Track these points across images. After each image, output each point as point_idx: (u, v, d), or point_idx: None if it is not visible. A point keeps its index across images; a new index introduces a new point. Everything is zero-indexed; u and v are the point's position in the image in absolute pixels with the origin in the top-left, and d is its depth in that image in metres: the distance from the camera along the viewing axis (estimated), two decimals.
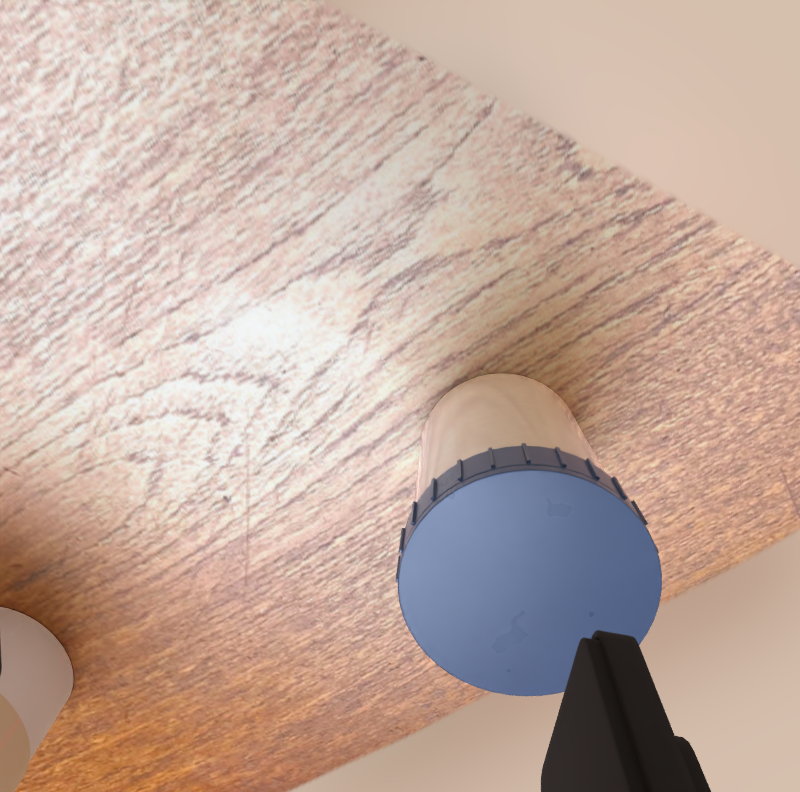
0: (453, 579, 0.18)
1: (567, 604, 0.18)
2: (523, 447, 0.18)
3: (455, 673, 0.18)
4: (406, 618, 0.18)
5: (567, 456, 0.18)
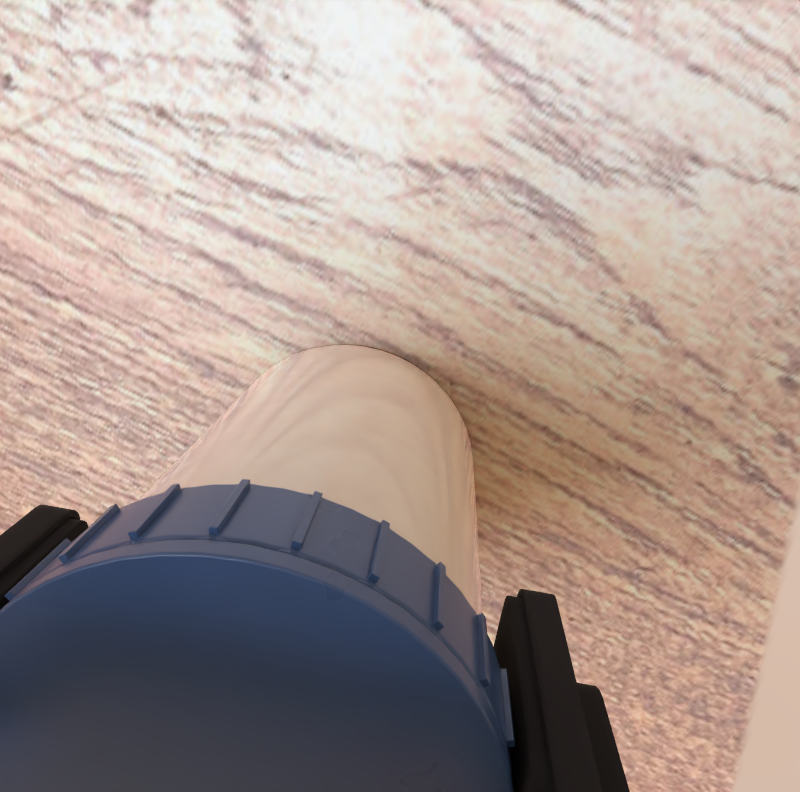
0: (146, 676, 0.07)
1: None
2: (482, 627, 0.08)
3: None
4: None
5: (506, 705, 0.09)
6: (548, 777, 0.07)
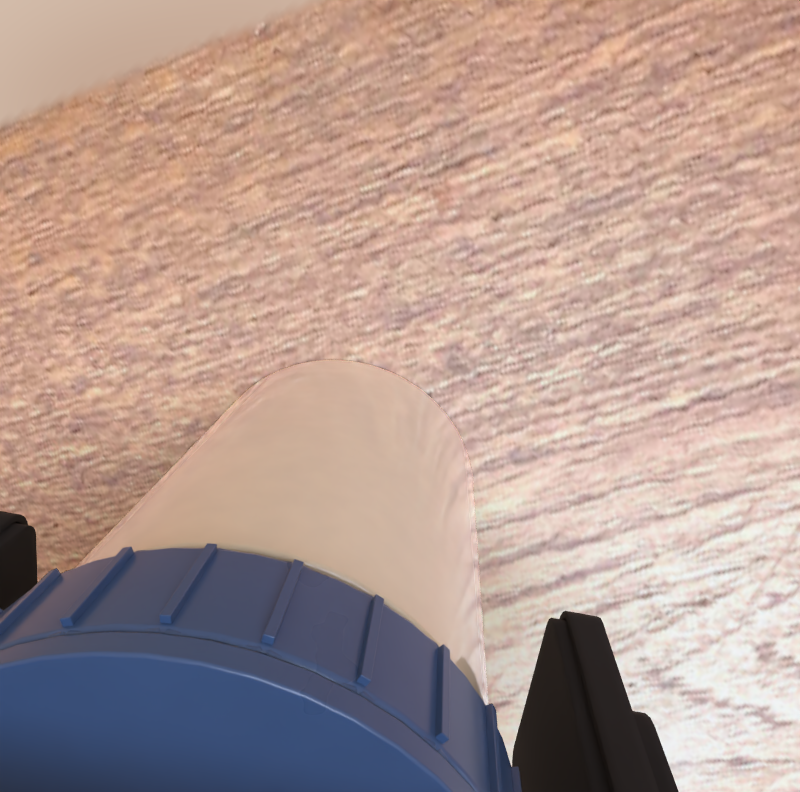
0: None
1: None
2: (493, 724, 0.07)
3: None
4: None
5: None
6: None
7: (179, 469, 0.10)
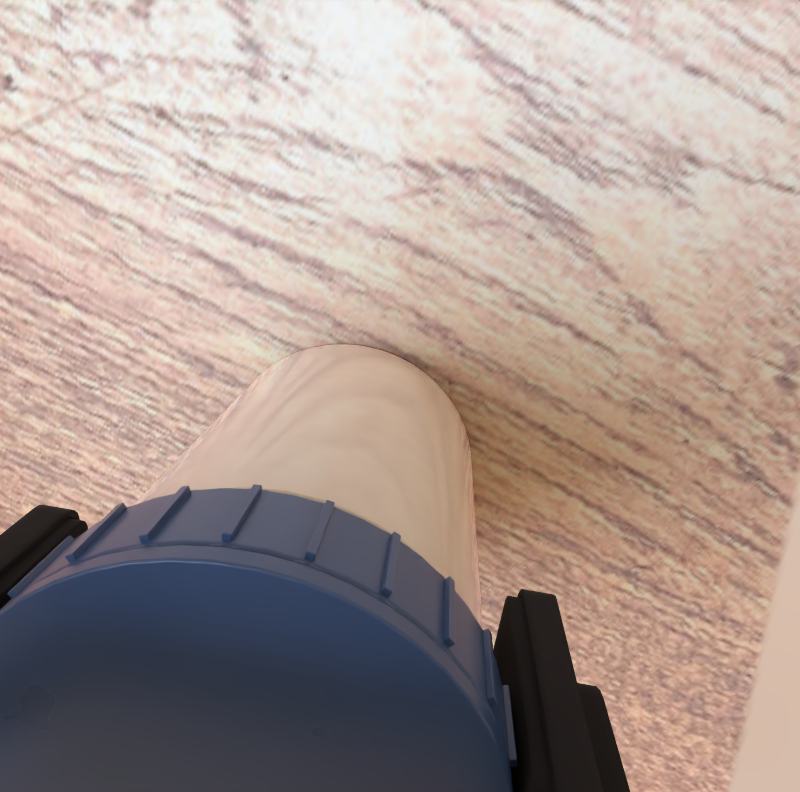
0: None
1: (277, 765, 0.07)
2: None
3: None
4: None
5: None
6: (549, 778, 0.07)
7: None
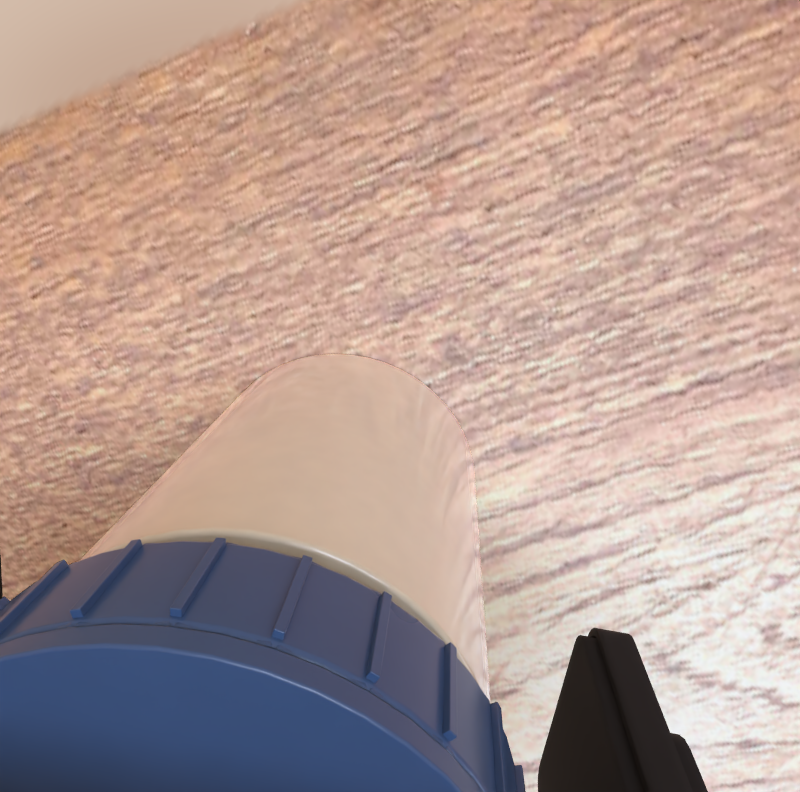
0: None
1: None
2: None
3: None
4: None
5: None
6: None
7: (180, 462, 0.11)
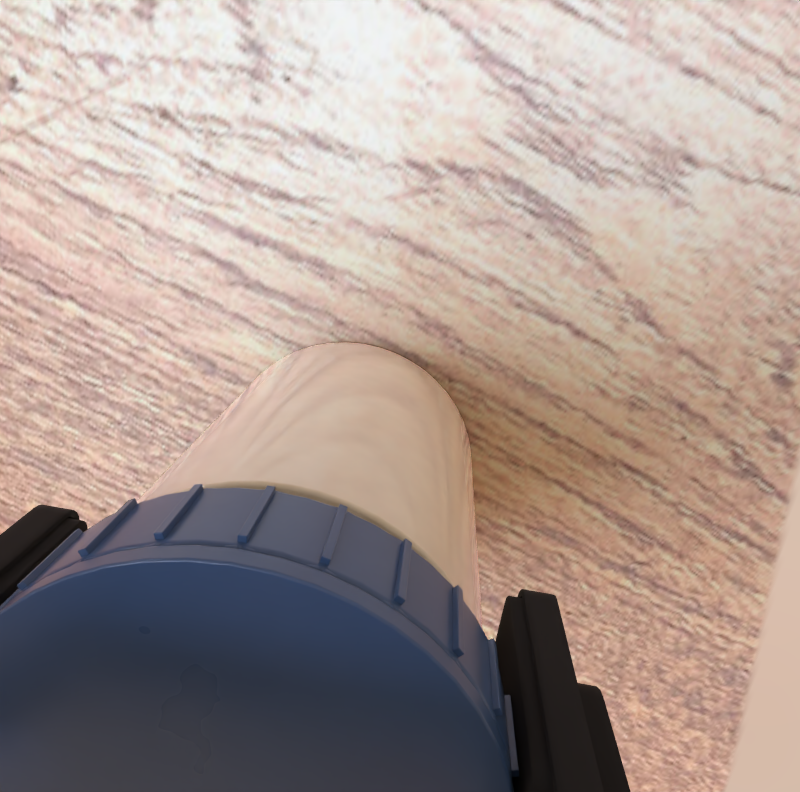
0: None
1: None
2: None
3: (261, 577, 0.07)
4: (447, 681, 0.07)
5: None
6: (550, 778, 0.07)
7: None
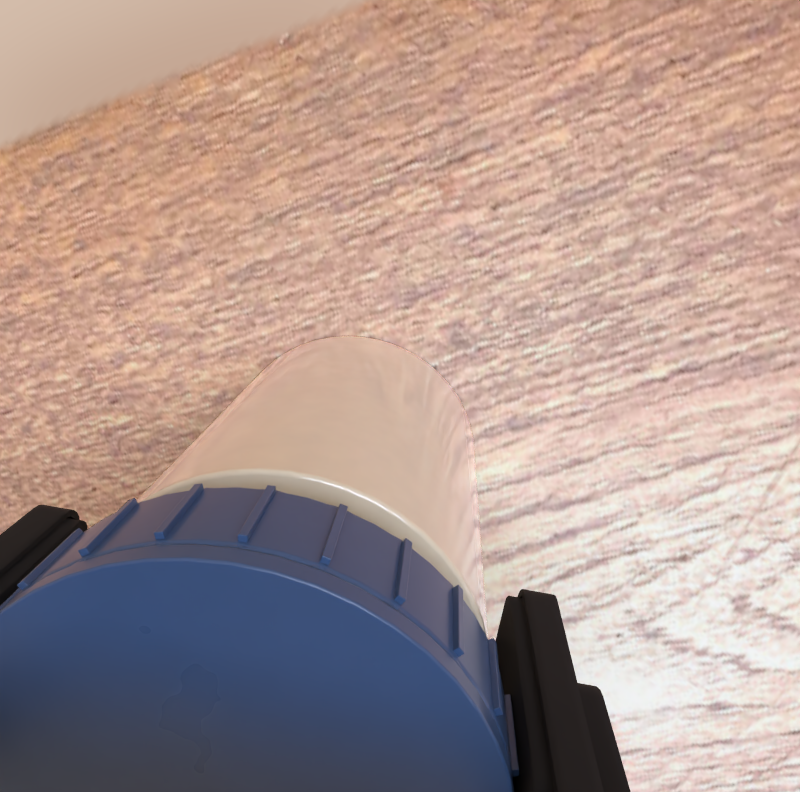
0: None
1: None
2: None
3: (261, 576, 0.07)
4: (447, 680, 0.07)
5: None
6: (549, 777, 0.07)
7: (218, 423, 0.12)
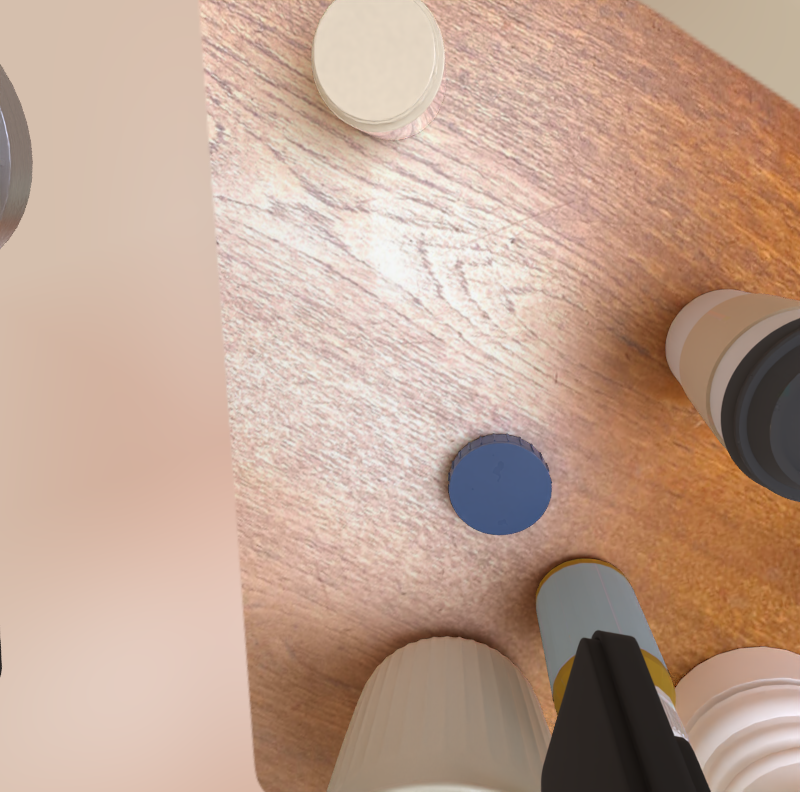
0: (529, 484, 0.45)
1: (483, 489, 0.45)
2: None
3: (513, 445, 0.44)
4: (541, 462, 0.44)
5: None
6: None
7: None
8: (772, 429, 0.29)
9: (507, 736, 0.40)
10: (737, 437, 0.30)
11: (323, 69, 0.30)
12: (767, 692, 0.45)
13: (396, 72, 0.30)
